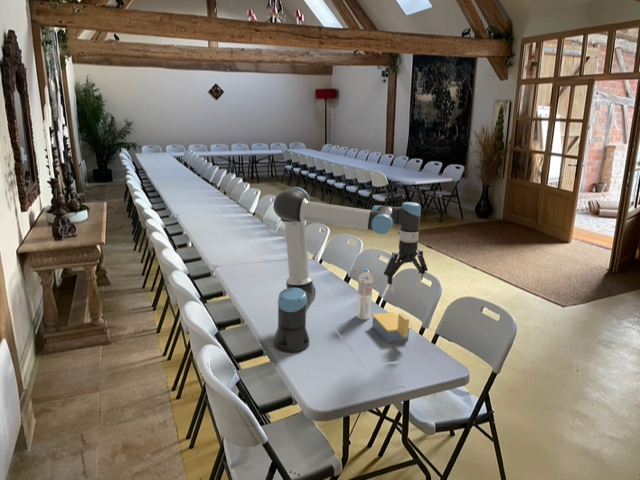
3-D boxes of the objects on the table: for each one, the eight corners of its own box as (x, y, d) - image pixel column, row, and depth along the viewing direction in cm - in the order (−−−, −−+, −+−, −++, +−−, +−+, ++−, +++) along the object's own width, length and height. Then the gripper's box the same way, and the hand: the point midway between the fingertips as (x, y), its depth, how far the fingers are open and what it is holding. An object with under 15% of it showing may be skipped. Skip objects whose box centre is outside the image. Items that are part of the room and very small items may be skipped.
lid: (393, 338, 196) (395, 320, 194) (372, 315, 217) (373, 299, 215) (417, 335, 199) (418, 318, 197) (393, 313, 220) (394, 297, 218)
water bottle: (359, 321, 224) (362, 272, 218) (354, 315, 231) (357, 267, 224) (372, 320, 226) (375, 271, 220) (367, 314, 233) (370, 266, 226)
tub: (387, 344, 204) (388, 331, 202) (372, 328, 218) (373, 316, 217) (408, 341, 207) (409, 329, 205) (391, 325, 221) (392, 314, 220)
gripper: (387, 245, 184) (384, 296, 190) (439, 240, 194) (434, 288, 200) (377, 240, 191) (374, 289, 196) (427, 235, 201) (423, 282, 207)
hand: (404, 289), depth 198 cm, fingers open, 13 cm apart
